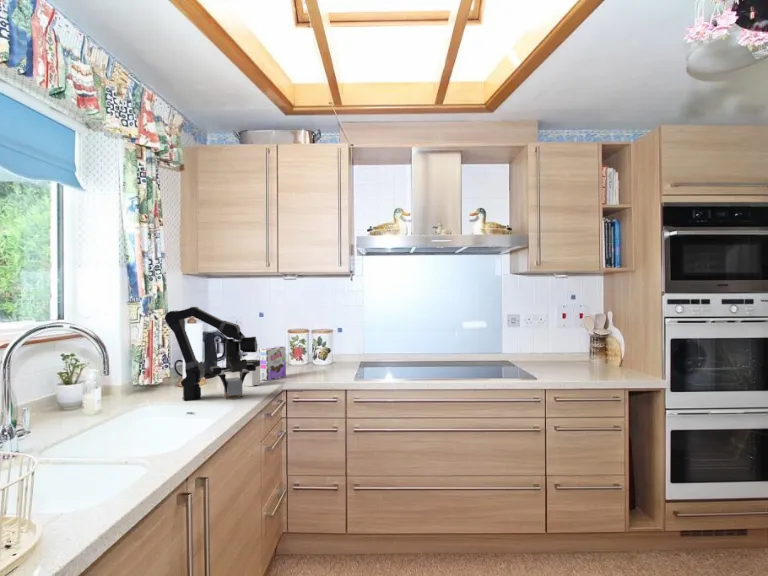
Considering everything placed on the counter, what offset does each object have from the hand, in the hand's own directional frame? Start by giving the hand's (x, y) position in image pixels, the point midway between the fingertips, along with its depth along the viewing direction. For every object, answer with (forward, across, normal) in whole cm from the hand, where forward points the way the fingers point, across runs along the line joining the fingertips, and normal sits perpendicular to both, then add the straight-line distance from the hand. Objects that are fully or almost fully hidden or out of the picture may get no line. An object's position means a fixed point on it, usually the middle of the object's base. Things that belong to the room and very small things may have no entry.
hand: (233, 388), depth 199 cm
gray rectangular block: (+2, 0, 0) cm, 2 cm away
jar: (+4, +14, +22) cm, 26 cm away
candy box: (+4, +28, +33) cm, 44 cm away
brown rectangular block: (+4, 0, 0) cm, 4 cm away
